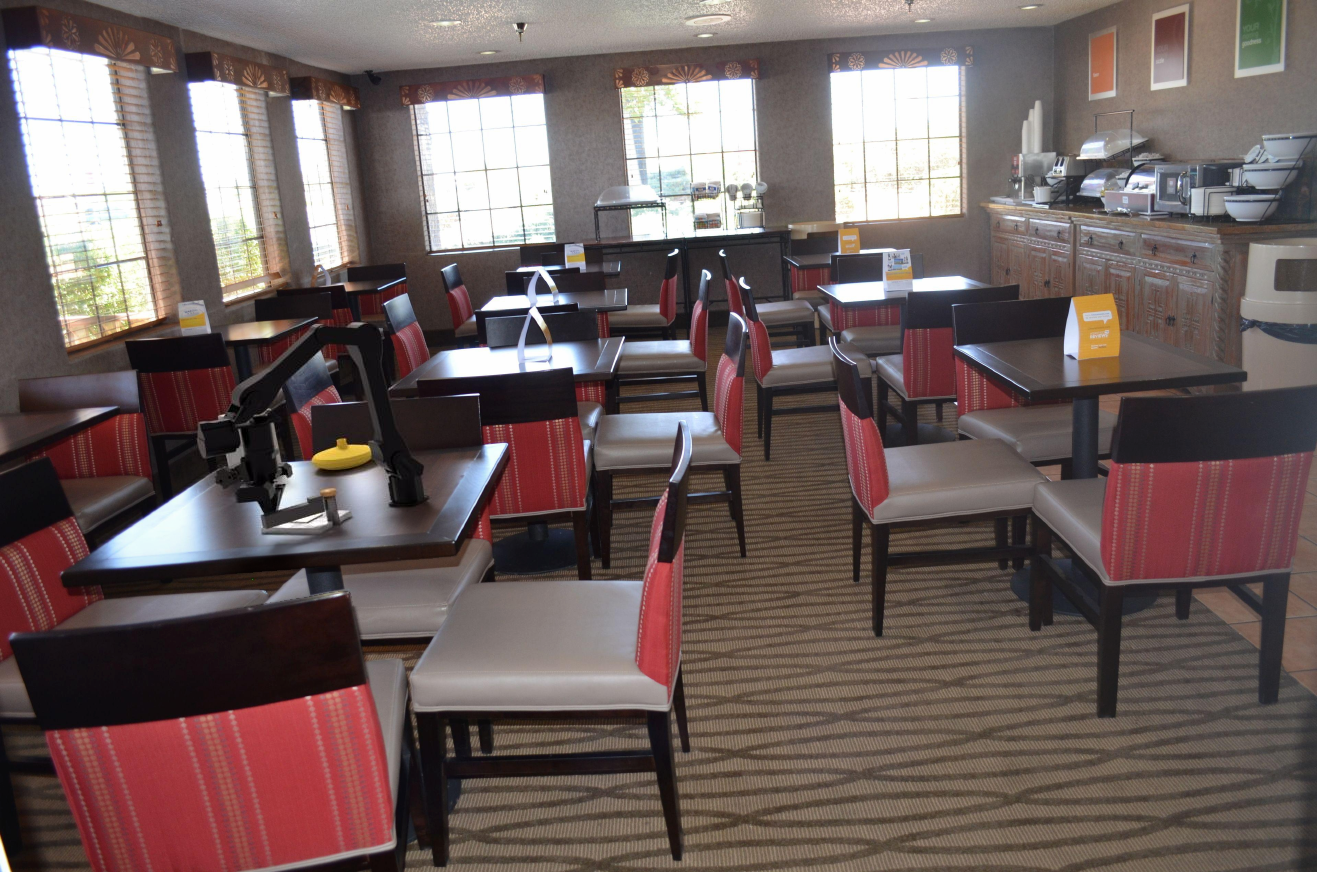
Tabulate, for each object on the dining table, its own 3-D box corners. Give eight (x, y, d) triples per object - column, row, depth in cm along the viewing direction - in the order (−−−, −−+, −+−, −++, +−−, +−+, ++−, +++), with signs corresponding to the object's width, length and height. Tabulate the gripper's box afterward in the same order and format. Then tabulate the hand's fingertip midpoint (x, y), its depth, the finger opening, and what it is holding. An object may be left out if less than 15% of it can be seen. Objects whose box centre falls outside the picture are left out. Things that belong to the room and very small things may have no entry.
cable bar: (335, 505, 197) (331, 487, 196) (342, 507, 195) (339, 489, 194) (261, 526, 187) (257, 508, 186) (268, 529, 184) (264, 510, 184)
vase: (366, 472, 237) (361, 444, 235) (303, 477, 237) (298, 450, 236) (385, 455, 252) (380, 430, 250) (326, 460, 253) (321, 435, 251)
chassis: (354, 515, 200) (349, 487, 199) (322, 533, 190) (317, 504, 189) (295, 515, 205) (290, 487, 203) (261, 532, 195) (255, 504, 193)
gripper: (230, 439, 194) (243, 512, 198) (199, 463, 176) (214, 543, 180) (287, 435, 195) (299, 507, 199) (262, 458, 177) (275, 537, 181)
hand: (271, 523), depth 190 cm, fingers closed
